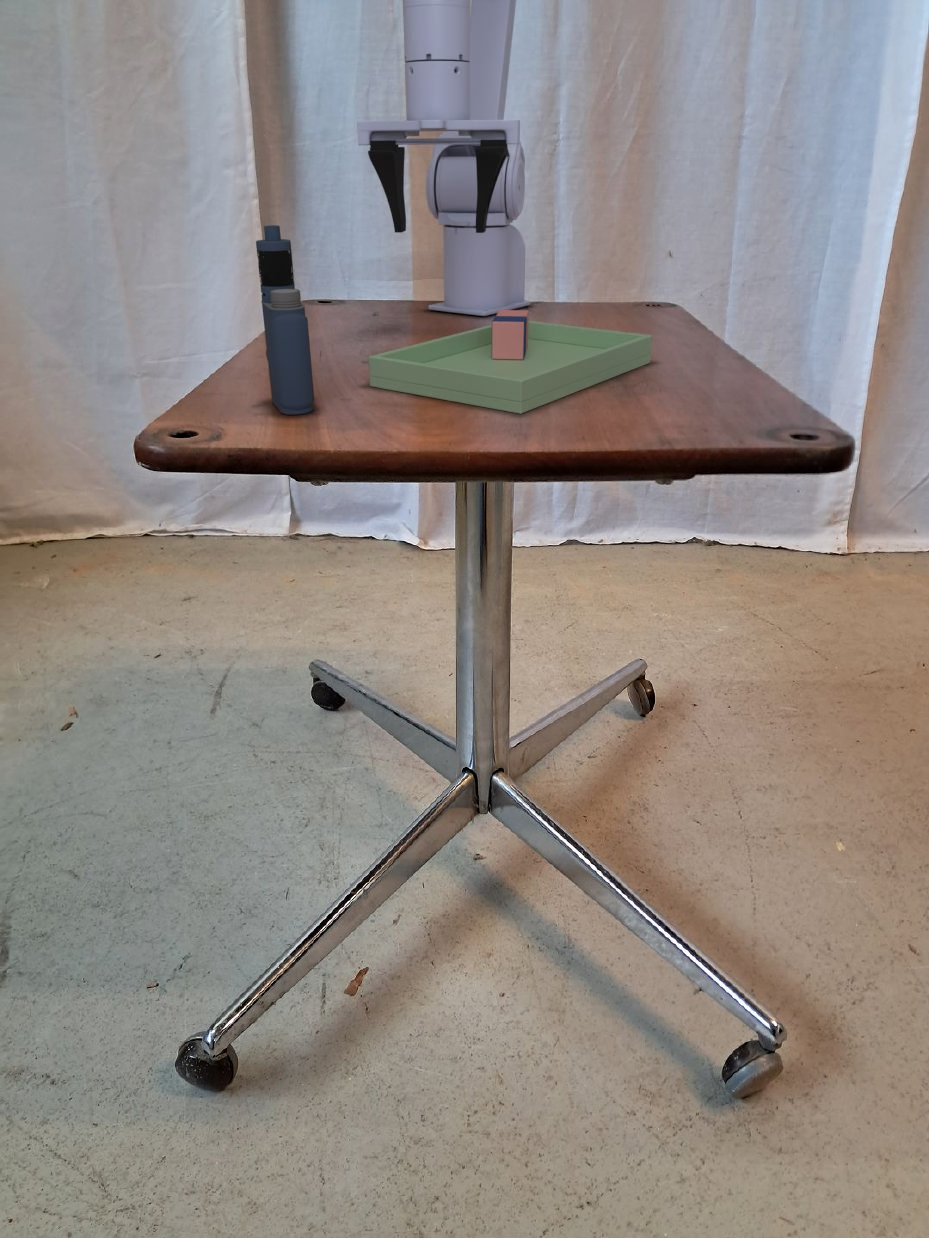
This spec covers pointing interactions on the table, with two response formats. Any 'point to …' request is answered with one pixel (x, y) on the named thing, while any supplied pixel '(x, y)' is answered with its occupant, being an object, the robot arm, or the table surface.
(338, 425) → the table surface
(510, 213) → the robot arm
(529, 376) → the tray
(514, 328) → the eraser
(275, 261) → the vaping device
